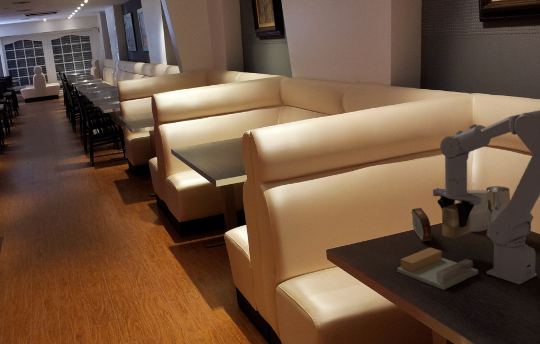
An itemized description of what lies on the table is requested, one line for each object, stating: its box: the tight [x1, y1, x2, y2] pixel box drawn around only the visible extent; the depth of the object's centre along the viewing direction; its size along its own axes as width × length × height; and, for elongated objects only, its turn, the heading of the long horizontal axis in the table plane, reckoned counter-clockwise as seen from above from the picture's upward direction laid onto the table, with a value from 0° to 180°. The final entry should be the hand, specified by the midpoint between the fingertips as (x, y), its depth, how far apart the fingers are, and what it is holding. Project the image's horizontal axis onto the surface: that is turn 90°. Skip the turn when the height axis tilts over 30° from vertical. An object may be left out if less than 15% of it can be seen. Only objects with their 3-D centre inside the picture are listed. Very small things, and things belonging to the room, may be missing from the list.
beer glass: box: [485, 185, 511, 239], centre depth 169 cm, size 7×7×15 cm
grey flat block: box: [396, 257, 479, 291], centre depth 148 cm, size 16×14×4 cm
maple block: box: [441, 202, 471, 239], centre depth 156 cm, size 4×7×8 cm, turn 124°
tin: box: [411, 207, 432, 243], centre depth 174 cm, size 15×3×8 cm, turn 179°
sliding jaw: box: [400, 247, 443, 272], centre depth 152 cm, size 4×12×2 cm, turn 125°
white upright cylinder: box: [458, 189, 488, 233], centre depth 178 cm, size 9×9×12 cm
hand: (456, 224), depth 156 cm, fingers closed on maple block, 4 cm apart
